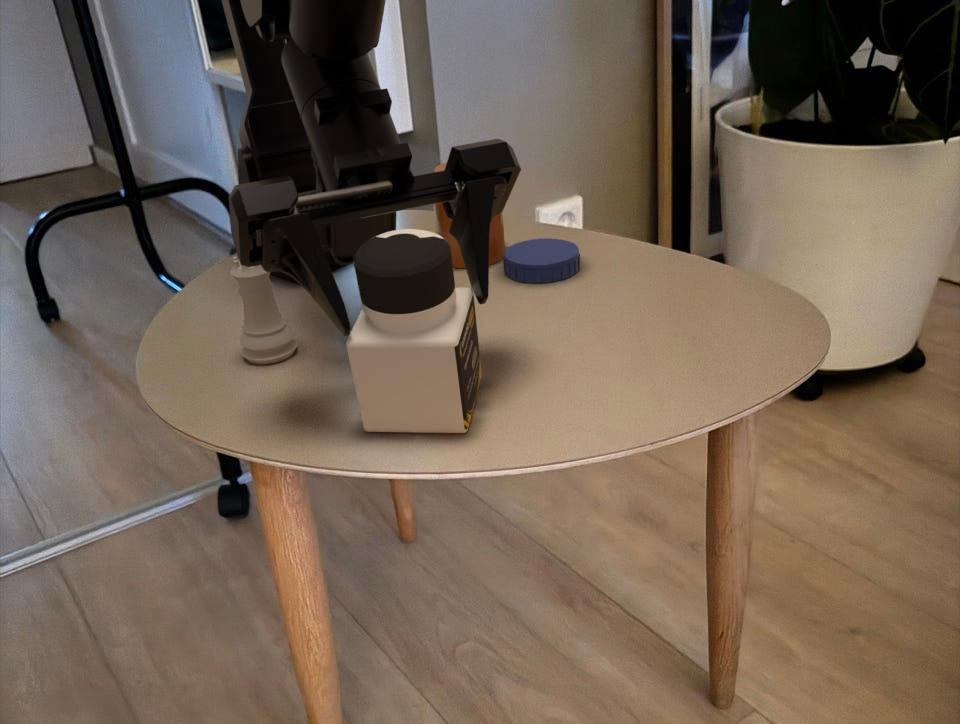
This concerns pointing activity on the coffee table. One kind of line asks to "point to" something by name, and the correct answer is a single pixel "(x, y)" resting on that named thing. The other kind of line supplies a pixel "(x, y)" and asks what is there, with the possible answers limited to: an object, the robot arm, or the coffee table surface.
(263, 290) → the rook chess piece
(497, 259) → the jar
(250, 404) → the coffee table surface
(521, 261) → the lid
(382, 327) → the medicine bottle
